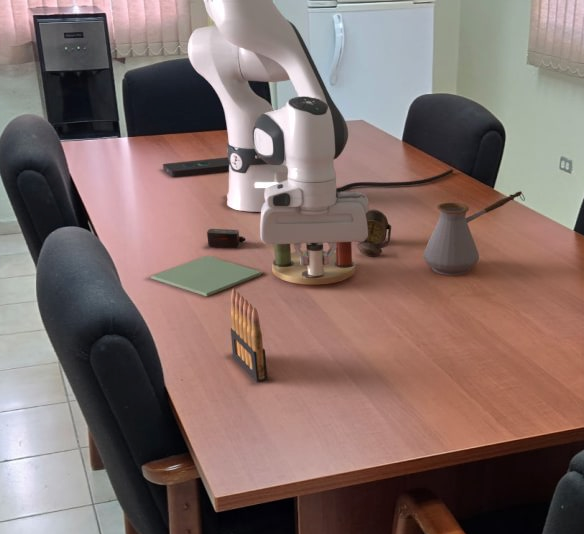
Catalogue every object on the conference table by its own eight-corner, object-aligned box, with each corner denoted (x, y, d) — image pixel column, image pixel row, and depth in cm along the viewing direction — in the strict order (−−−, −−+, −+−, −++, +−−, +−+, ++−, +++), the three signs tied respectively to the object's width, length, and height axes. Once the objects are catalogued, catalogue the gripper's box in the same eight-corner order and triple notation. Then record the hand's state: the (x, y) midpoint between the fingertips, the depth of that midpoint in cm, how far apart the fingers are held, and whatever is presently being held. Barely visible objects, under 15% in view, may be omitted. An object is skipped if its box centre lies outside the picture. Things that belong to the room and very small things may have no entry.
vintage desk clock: (406, 217, 206) (366, 201, 207) (383, 228, 195) (340, 211, 196) (398, 248, 209) (358, 232, 211) (375, 261, 198) (333, 244, 200)
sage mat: (207, 258, 195) (207, 255, 195) (262, 274, 188) (261, 271, 188) (151, 278, 184) (150, 275, 184) (206, 296, 177) (206, 293, 177)
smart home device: (161, 163, 249) (234, 155, 259) (162, 169, 250) (234, 162, 260) (171, 170, 244) (245, 163, 253) (172, 177, 245) (246, 169, 254)
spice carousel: (255, 269, 188) (250, 203, 181) (317, 250, 199) (314, 188, 192) (310, 291, 179) (307, 223, 172) (372, 270, 190) (371, 205, 183)
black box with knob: (241, 249, 200) (240, 234, 199) (207, 247, 200) (206, 232, 199) (246, 242, 204) (244, 227, 203) (213, 240, 204) (211, 225, 203)
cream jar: (304, 273, 183) (302, 243, 180) (316, 269, 185) (315, 239, 182) (315, 277, 181) (314, 247, 178) (327, 273, 184) (326, 243, 180)
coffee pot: (434, 281, 189) (436, 206, 181) (415, 262, 198) (416, 190, 190) (530, 271, 196) (536, 198, 188) (507, 253, 205) (512, 183, 197)
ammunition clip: (232, 356, 156) (225, 287, 150) (243, 354, 157) (237, 285, 151) (256, 382, 148) (250, 310, 142) (267, 379, 149) (262, 308, 143)
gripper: (366, 186, 180) (367, 256, 187) (256, 188, 176) (261, 260, 183) (370, 195, 174) (371, 267, 182) (257, 198, 170) (263, 271, 178)
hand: (315, 264), depth 182 cm, fingers closed on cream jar, 3 cm apart
